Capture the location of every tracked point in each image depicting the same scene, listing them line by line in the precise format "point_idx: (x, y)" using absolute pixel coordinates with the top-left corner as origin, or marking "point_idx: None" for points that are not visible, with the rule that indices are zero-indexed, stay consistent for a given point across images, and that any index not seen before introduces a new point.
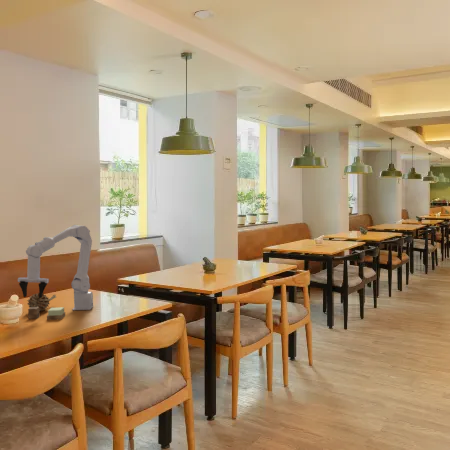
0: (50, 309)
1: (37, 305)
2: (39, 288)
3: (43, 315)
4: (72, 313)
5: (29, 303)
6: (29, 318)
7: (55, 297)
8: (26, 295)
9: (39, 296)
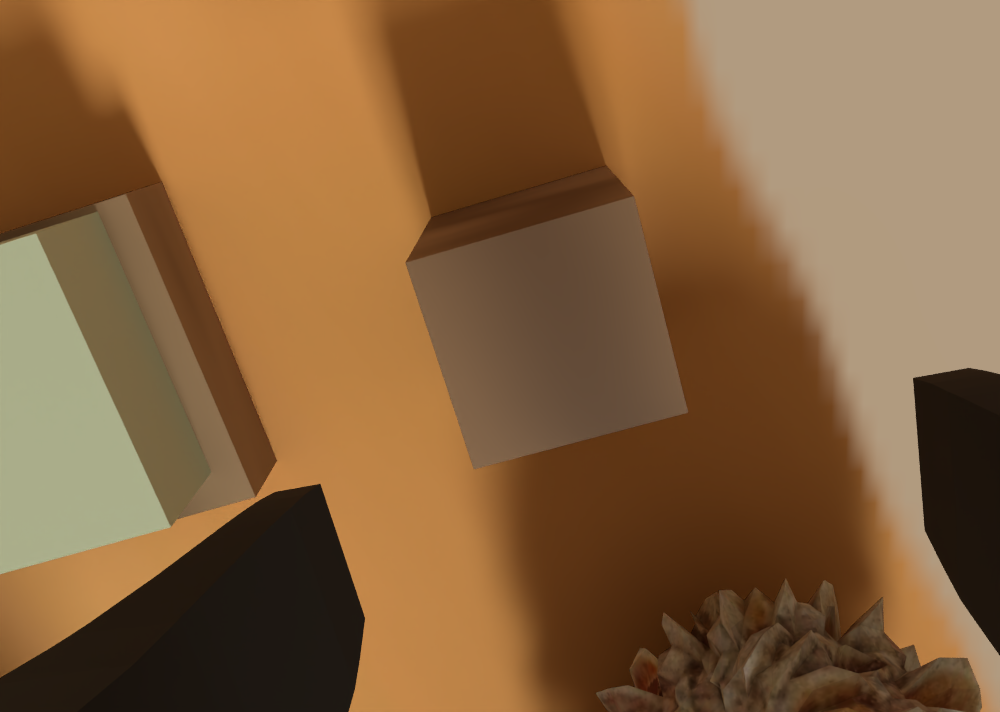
0: (64, 355)
1: (684, 673)
2: (70, 694)
3: (466, 482)
4: None
5: (906, 673)
6: (588, 173)
7: None
8: (940, 546)
9: (286, 501)
